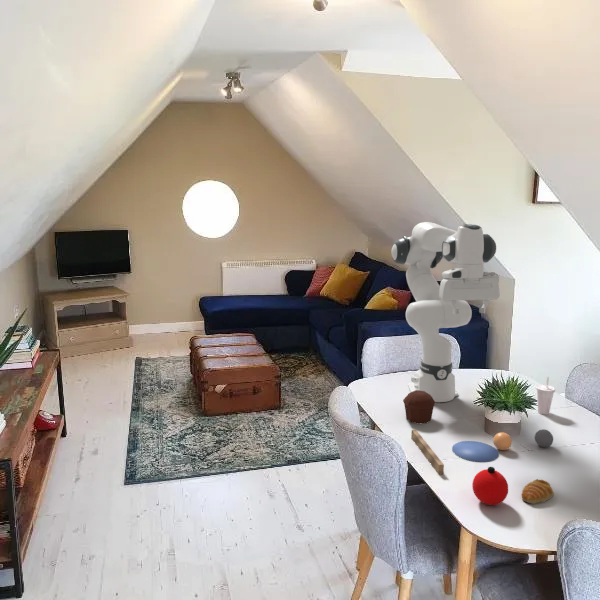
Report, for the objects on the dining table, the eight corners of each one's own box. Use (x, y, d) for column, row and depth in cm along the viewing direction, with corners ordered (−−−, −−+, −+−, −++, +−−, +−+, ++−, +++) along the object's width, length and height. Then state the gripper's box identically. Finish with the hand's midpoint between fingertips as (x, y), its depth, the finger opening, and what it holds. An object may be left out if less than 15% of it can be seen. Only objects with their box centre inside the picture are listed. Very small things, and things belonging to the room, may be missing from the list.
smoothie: (545, 417, 203) (549, 380, 200) (530, 411, 208) (533, 375, 205) (556, 413, 206) (559, 377, 203) (541, 408, 211) (544, 372, 208)
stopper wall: (411, 438, 187) (411, 429, 186) (415, 438, 187) (416, 429, 187) (438, 474, 164) (438, 464, 163) (443, 474, 164) (443, 464, 163)
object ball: (489, 446, 181) (490, 430, 180) (505, 444, 182) (507, 428, 181) (497, 453, 176) (499, 437, 175) (514, 452, 176) (515, 436, 175)
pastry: (538, 509, 146) (539, 496, 145) (514, 499, 151) (515, 486, 151) (555, 496, 152) (556, 483, 151) (531, 487, 157) (532, 474, 157)
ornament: (482, 489, 155) (484, 456, 153) (513, 502, 149) (516, 468, 147) (464, 502, 150) (466, 467, 147) (496, 516, 143) (498, 480, 141)
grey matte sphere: (530, 443, 183) (531, 427, 182) (546, 441, 184) (547, 426, 183) (539, 450, 178) (541, 434, 176) (556, 449, 178) (557, 433, 177)
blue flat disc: (445, 443, 183) (445, 442, 183) (485, 440, 185) (486, 439, 185) (463, 463, 170) (463, 463, 170) (506, 460, 172) (507, 459, 172)
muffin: (408, 410, 210) (409, 384, 208) (438, 415, 205) (439, 389, 203) (398, 421, 200) (399, 395, 198) (429, 428, 195) (430, 400, 193)
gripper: (494, 271, 195) (494, 311, 196) (437, 272, 192) (437, 313, 193) (503, 272, 188) (502, 313, 190) (444, 273, 186) (444, 315, 187)
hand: (469, 313), depth 191 cm, fingers open, 8 cm apart
